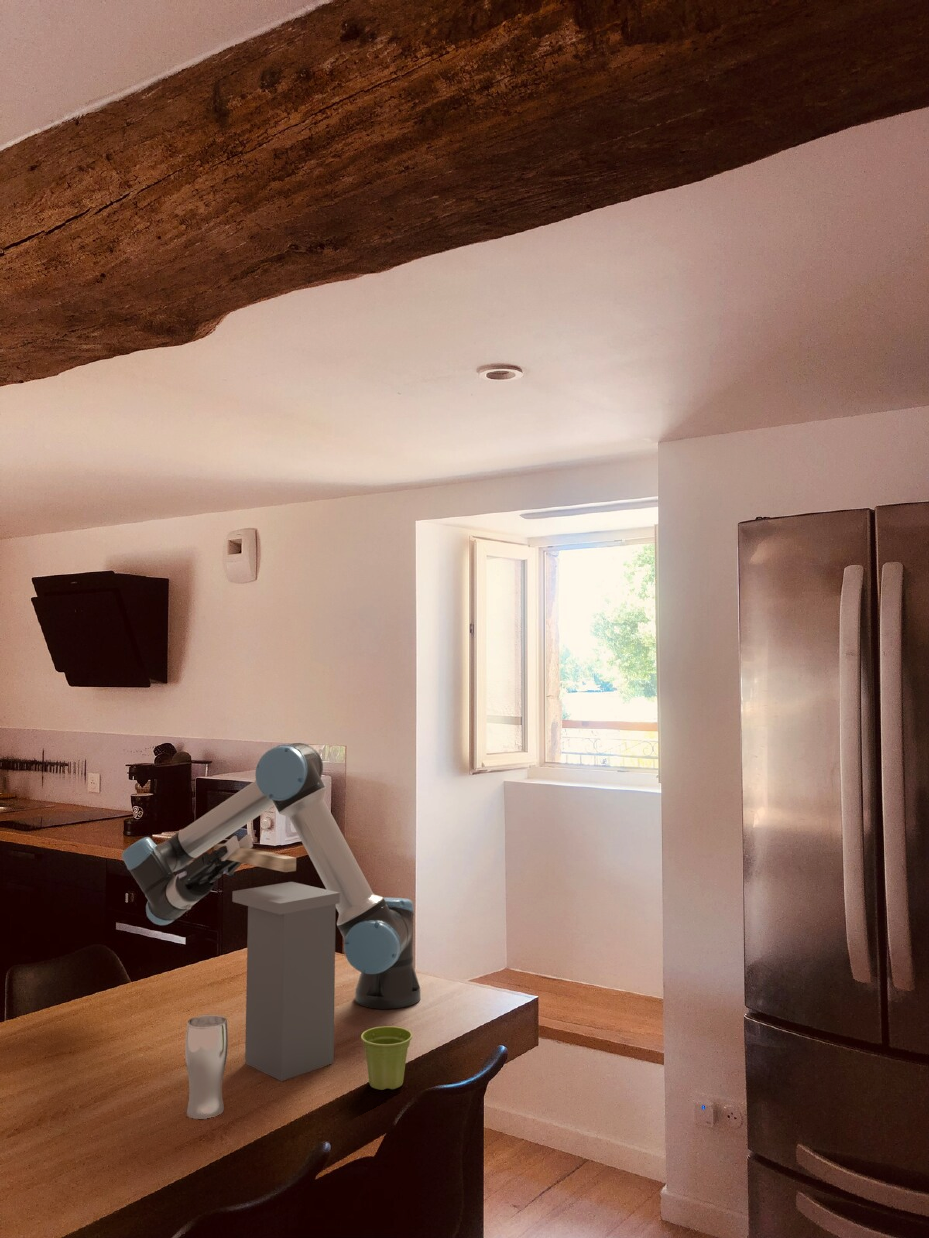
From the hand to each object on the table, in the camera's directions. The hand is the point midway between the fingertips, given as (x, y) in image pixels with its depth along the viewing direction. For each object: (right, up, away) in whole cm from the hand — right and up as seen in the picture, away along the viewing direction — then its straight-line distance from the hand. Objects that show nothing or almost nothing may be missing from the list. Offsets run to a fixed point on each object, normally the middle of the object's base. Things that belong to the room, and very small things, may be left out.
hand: (243, 841), depth 200 cm
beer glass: (+2, -37, -37) cm, 53 cm away
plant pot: (+32, -39, -25) cm, 56 cm away
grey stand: (+11, -39, -14) cm, 43 cm away
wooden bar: (+3, -4, -3) cm, 6 cm away
